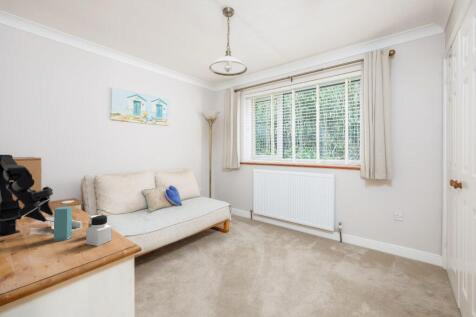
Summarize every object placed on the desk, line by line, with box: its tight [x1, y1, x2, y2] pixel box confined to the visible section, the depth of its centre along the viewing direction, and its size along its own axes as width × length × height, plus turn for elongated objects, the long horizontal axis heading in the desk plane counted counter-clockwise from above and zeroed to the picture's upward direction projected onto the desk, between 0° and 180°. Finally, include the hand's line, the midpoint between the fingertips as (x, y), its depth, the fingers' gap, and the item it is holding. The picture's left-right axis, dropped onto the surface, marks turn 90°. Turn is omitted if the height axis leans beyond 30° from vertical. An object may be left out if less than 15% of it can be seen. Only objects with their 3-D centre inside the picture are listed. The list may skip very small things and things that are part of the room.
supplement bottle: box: [87, 214, 99, 228], centre depth 107 cm, size 5×5×10 cm
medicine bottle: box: [85, 214, 113, 247], centre depth 99 cm, size 7×7×12 cm
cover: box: [46, 217, 74, 222], centre depth 116 cm, size 10×7×3 cm
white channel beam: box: [72, 219, 83, 232], centre depth 115 cm, size 13×7×4 cm, turn 71°
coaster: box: [53, 234, 73, 242], centre depth 102 cm, size 7×7×1 cm
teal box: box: [53, 205, 73, 241], centre depth 102 cm, size 5×5×14 cm
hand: (49, 218), depth 104 cm, fingers open, 9 cm apart
